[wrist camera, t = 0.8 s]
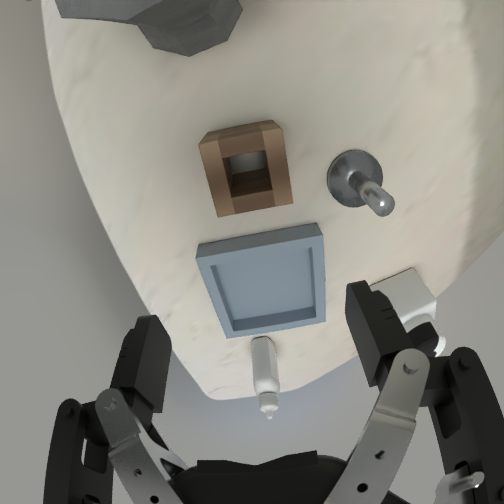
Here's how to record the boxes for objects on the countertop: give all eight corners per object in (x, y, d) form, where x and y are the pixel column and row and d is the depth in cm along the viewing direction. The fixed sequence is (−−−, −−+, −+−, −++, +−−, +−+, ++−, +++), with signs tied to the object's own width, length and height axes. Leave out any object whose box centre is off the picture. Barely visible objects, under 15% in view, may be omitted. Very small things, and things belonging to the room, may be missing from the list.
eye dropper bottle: (283, 337, 39) (294, 410, 29) (271, 358, 42) (278, 425, 32) (254, 333, 38) (259, 408, 28) (244, 355, 41) (247, 424, 31)
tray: (198, 244, 30) (195, 258, 28) (316, 222, 29) (322, 234, 27) (227, 323, 37) (226, 338, 35) (321, 307, 36) (325, 321, 34)
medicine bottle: (373, 317, 38) (401, 381, 28) (368, 285, 34) (403, 356, 24) (413, 299, 37) (447, 359, 27) (413, 266, 33) (456, 329, 23)
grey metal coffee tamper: (324, 153, 25) (350, 175, 19) (378, 147, 24) (415, 168, 19) (329, 208, 28) (351, 242, 22) (379, 200, 28) (410, 231, 22)
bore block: (207, 132, 23) (198, 144, 18) (272, 119, 23) (281, 128, 18) (221, 190, 27) (217, 217, 22) (282, 179, 26) (293, 203, 21)
